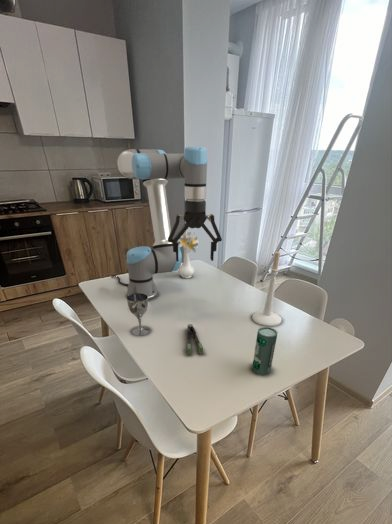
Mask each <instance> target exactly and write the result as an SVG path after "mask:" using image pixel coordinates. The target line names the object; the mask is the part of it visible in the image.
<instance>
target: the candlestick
mask: <svg viewBox="0 0 392 524" xmlns="http://www.w3.org/2000/svg"><path fill="white" fill-rule="evenodd" d="M280 255H281V252H280V251H275V252H274V256H273V263H272V267H270V270H271V271H270V274H271V277H270V281H269V286H268V291H267V295H266V299H265V304H264V308H263V310H258V311H256V312H254V313H253V314H252V317H251V319H252V321H253V322H254V323H256V324H257V325H261V326H263V327H275V326H278V325H280V324H281V323H282V317H281V315H279V314H278V313H276V312H274V311H273V307H274V298H275V290H276V289H275V288H276V280H277V277H276V276H277V274H278V273H279V271H280V268H279V262H280Z"/></svg>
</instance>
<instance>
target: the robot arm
mask: <svg viewBox="0 0 392 524" xmlns="http://www.w3.org/2000/svg"><path fill="white" fill-rule="evenodd" d="M115 167H116V170H117V172H118V173H119V174H120V175H121V176H122V177H124V178H127V179H130V180H142V184H143V186H144V187H145V188H146V191H147V197H148V198H147V199H148V203H149V210H150V216H151V217H150V218H151V224H152V230H153V237H154V243H152V248H151V247H150V246H147V245H144V246H141V245H140V246H136V247H133V248H130V249H129V250H128V251H127V252H126V264H127V265H126V266H127V273H128V280H129V281H128V283H125V282H122V281H121V278H120V277H119V276H118V275H116V274H111V276H110V278H113V277H115V278H116V279H117V280H118V281H117V282H118V283H119V284H120V285H124V286H127V290H126V294H127V297H128V296H129V295H131V294H136V293H141V294H145V295H147V297H148V301H150V300H153V299H155V298H156V297H157V296H158V288H157V287H156V283H155V281H154V279H153V277H154V275H156V274H157V275H158V274H164V273H172V272H177V271H179V268H180V267H181V266H182V263H183V261H182V260H183V255H182V251H181V247H179V242H177V241H178V240H179V239H180V237H181V236H182V235H183V234H184V232H186V231H187V230H188V229H189V228H190V229H201V228H202V229H203V230H204V232H205V233H206V234H207V235H208V237H209V238H210V239H211V241H210V260H211V262H213V261H214V254H215V252H217V247H218V243H219V242H222V240H223V239H222V235H221V233H220V232H219V231H220V230H218V227H217V224H216V222H215V215H214V214H213V213H210V214H207V213H206V211H207V210H206V209H207V201H206V199H207V173H208V150H207V148H206V147H204V146H186V147H185V148H184V150H183V153H182V152H181V153H180V152H178V153H167V152H165V151H164V150H163V149H157V148H154V149H149V148H146V149H144V148H142V149H140V148H137V149H136V148H131V149H129V148H128V149H126V150H122V151H121V152H120V153H118V154H117V157H116V159H115ZM169 179H170V180H171V179H184V181H183V182H184V199H185V200H184V214H183V215H181V214H179V213H177V214H176V215H175V221H174V224H173V226H172V228H171V221H170V220H171V219H170V214H169V213H170V212H169V204H168V198H167V197H168V196H167V191H166V190H167V189H166V186H167V184H168V182H169V181H168V180H169ZM182 220H183V221H184V222H185V223H184V224H183V226H182V227H181V229H180V230H179V231H178V232H177V229H178V227H179V225H180V223H181V222H182ZM207 220H208V222H210V224H211V227H212V229H213V231H214V233H215V236H216V237H215V236H214V235H213V234H212V232H211V231H210V229H209V228H208V227H207V226H206V224H205V222H206V221H207ZM176 232H177V234H176ZM175 234H176V235H175ZM174 235H175V236H174ZM116 276H117V277H116Z"/></svg>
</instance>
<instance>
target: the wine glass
mask: <svg viewBox="0 0 392 524" xmlns="http://www.w3.org/2000/svg"><path fill="white" fill-rule="evenodd" d="M126 303H127V307H128V310H129V311H130V313H131V314H132V315H133V316H134V317H136V319H137V321H138V325H139V326H137V327H134V328H133V329H131V330H132V331H131V333H132V334H133V335H135V336H144V335H145V336H146V335H148V334H149V333H150V331H151V330H150V329H149V328H148V327H146V326H142V318H143V317H144V315H145V314H146V313H147V311H148V308H149V300H148V297H147V295H145V294H141V293H136V294H131V295H129V296H127V297H126Z"/></svg>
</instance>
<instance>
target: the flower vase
mask: <svg viewBox="0 0 392 524" xmlns="http://www.w3.org/2000/svg"><path fill="white" fill-rule="evenodd" d="M177 242H178V247H179V248H182V247H183V259H182V260H183V261H182V263H181V266H180V268H179V269H178V274H179V275H180V277H181V278H182V279H190V278H192V276H193V275H194V274H195V269H194V267H193V266H192V265H191V261H190V252H192V253H196V252H197V251H196V250H197V249H198V248H199V243H200V240H199V239H198V236H196V232H193V235H192V232H191V231H188V232H186V231H185V232H184V234H183V235H182V236H181V237H180V239H179V240H178V241H177ZM196 248H197V249H196Z"/></svg>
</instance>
